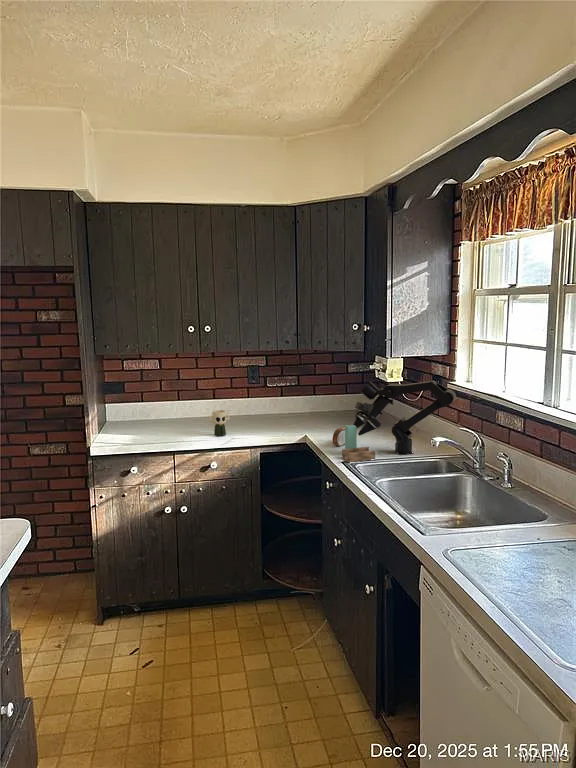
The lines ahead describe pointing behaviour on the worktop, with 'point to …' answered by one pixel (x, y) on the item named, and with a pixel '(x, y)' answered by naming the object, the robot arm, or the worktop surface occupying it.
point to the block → (350, 437)
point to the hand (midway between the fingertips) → (355, 432)
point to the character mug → (219, 421)
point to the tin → (339, 437)
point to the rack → (357, 454)
